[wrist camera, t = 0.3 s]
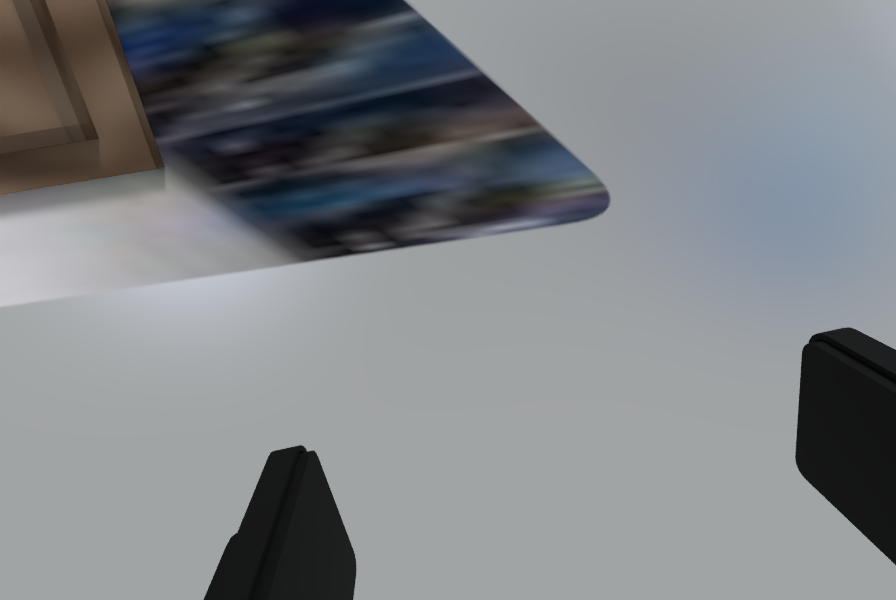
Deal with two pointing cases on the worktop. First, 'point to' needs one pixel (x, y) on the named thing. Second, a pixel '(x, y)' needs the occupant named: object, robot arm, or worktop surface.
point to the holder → (67, 97)
